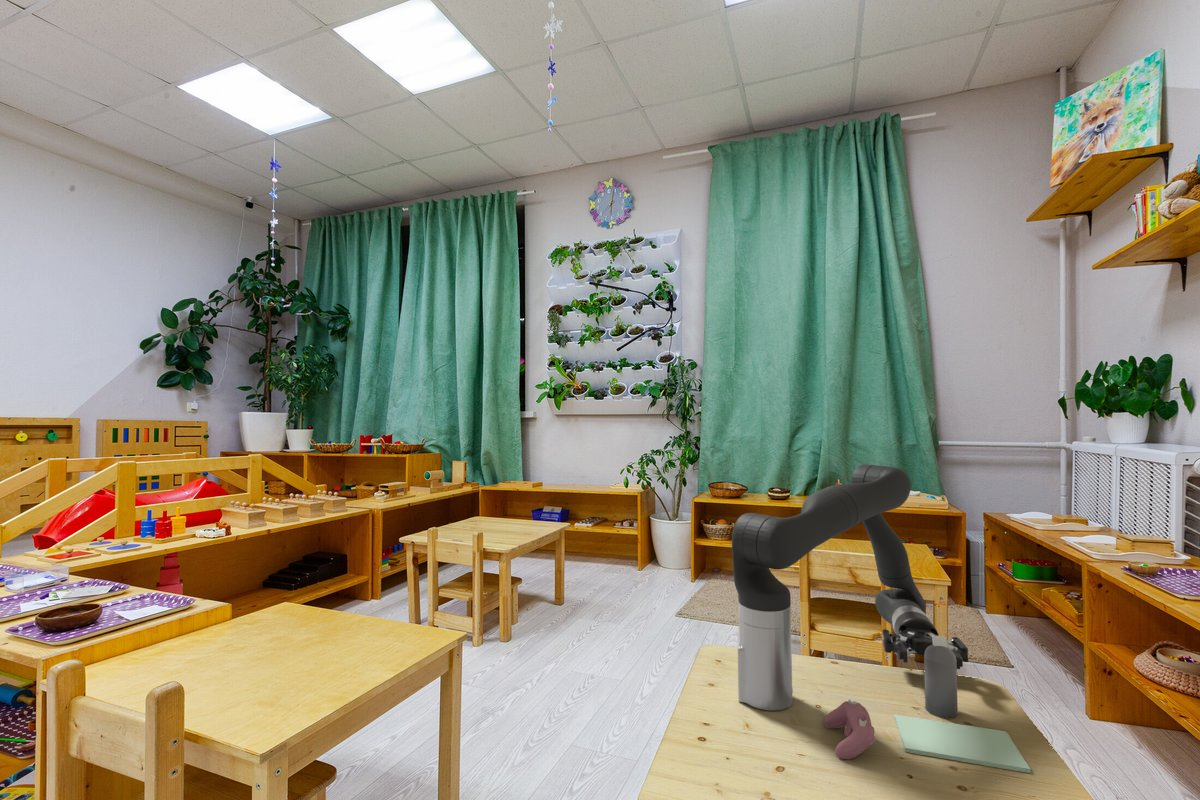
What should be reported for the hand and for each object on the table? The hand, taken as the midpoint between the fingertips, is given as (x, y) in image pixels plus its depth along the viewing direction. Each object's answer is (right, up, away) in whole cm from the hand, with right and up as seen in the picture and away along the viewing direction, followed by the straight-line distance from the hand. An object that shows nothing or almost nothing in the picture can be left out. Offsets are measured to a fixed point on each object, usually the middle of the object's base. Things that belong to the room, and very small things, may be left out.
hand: (931, 660), depth 103 cm
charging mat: (-5, -6, -16) cm, 18 cm away
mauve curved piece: (-22, -6, -15) cm, 28 cm away
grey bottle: (-2, -6, -6) cm, 9 cm away
